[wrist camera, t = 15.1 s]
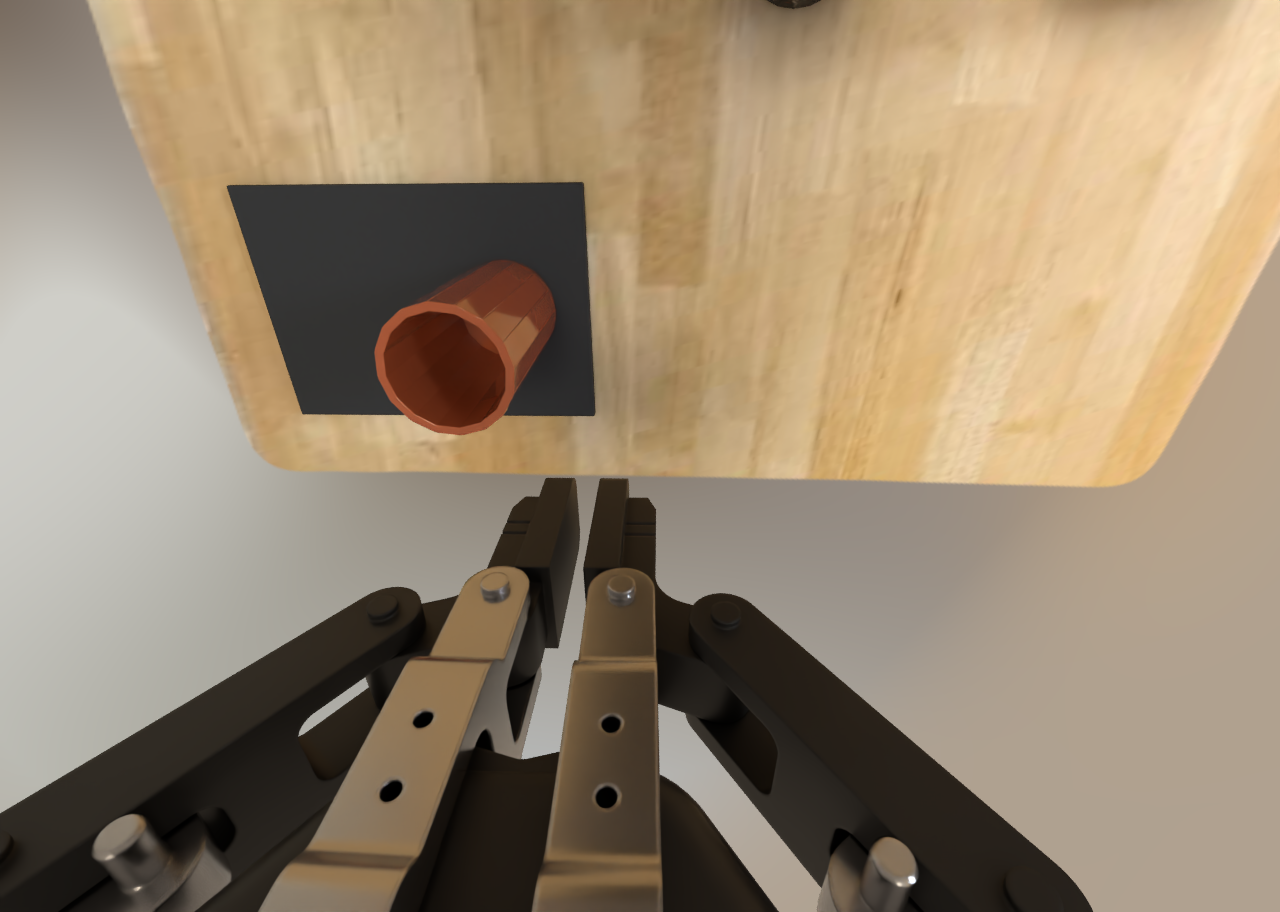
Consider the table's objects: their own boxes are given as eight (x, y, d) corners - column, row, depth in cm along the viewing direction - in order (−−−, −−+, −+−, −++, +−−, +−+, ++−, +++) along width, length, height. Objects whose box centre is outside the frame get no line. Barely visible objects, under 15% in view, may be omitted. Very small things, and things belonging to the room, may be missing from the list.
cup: (507, 237, 31) (438, 271, 22) (576, 319, 33) (542, 384, 24) (437, 302, 33) (346, 360, 24) (507, 376, 35) (450, 457, 26)
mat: (583, 182, 30) (582, 182, 30) (595, 412, 37) (594, 416, 36) (233, 185, 31) (225, 185, 30) (307, 411, 38) (302, 414, 37)
